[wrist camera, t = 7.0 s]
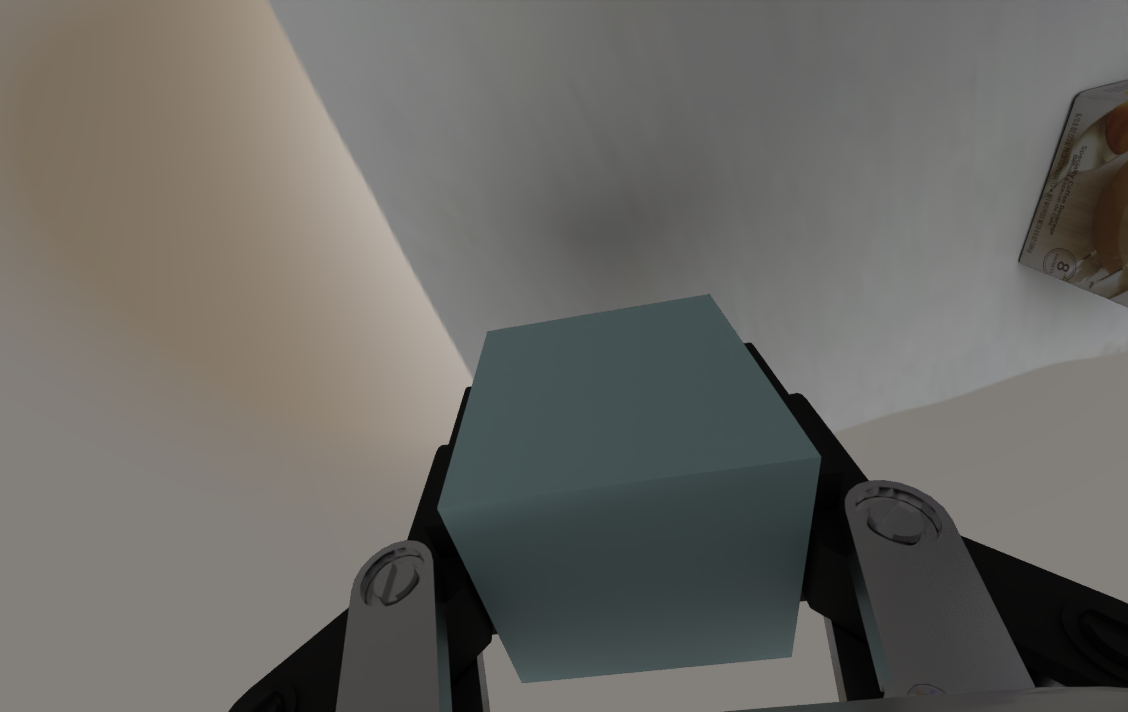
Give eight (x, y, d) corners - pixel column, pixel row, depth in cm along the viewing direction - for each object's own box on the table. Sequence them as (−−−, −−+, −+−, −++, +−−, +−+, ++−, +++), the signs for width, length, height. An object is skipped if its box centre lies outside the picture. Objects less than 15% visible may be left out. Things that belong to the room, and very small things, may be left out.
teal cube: (709, 294, 10) (821, 456, 6) (712, 459, 13) (791, 657, 8) (487, 331, 10) (436, 508, 6) (534, 484, 13) (522, 682, 9)
